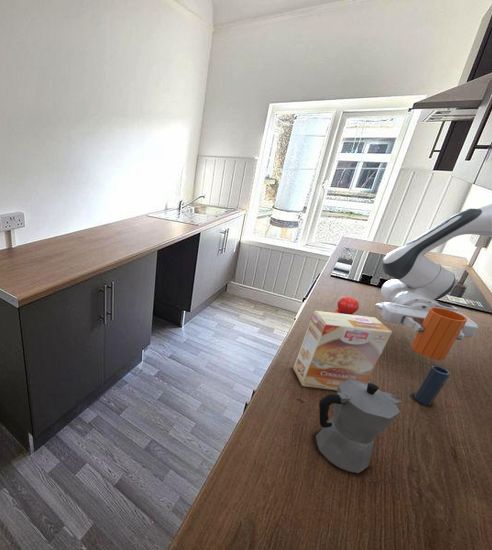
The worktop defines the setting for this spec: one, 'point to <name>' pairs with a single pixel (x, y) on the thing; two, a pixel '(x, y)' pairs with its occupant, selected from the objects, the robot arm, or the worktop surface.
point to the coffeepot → (354, 423)
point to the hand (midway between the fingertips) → (440, 333)
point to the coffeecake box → (339, 349)
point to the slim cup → (431, 385)
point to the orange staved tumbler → (438, 333)
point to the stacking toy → (347, 306)
